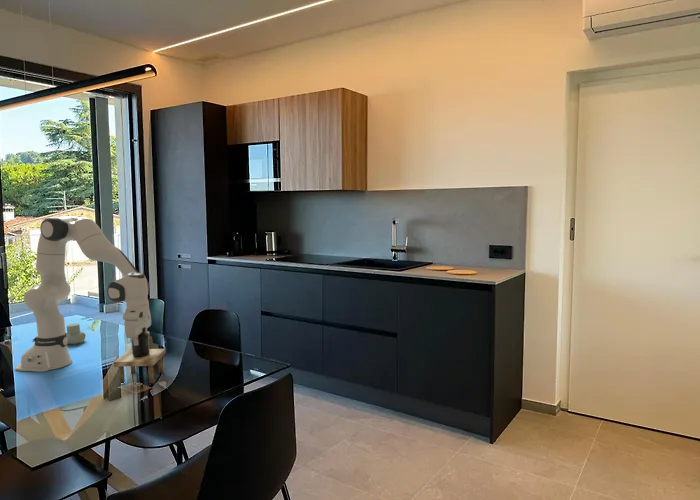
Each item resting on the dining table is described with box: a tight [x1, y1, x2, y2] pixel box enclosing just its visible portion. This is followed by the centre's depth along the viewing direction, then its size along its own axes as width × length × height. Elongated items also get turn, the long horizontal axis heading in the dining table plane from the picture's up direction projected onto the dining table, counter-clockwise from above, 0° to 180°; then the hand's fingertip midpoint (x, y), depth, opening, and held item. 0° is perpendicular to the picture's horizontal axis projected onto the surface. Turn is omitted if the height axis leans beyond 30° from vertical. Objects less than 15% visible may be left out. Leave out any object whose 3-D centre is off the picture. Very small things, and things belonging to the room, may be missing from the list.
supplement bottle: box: [130, 327, 150, 357], centre depth 213 cm, size 7×7×12 cm
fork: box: [155, 380, 167, 389], centre depth 201 cm, size 3×21×3 cm, turn 41°
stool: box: [113, 348, 167, 384], centre depth 214 cm, size 16×16×10 cm
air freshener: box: [66, 322, 86, 345], centre depth 263 cm, size 11×8×10 cm
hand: (140, 342), depth 213 cm, fingers closed on supplement bottle, 7 cm apart
